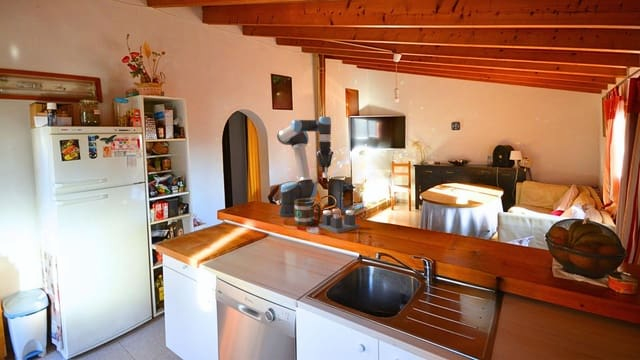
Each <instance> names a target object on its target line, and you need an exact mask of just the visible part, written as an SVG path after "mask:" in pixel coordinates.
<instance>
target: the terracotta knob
mask: <svg viewBox="0 0 640 360" xmlns="http://www.w3.org/2000/svg"><path fill="white" fill-rule="evenodd" d="M331 214H332V215H333V217H334V218H339V217H340V214H341V208H332V210H331Z"/></svg>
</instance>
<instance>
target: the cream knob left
mask: <svg viewBox="0 0 640 360" xmlns="http://www.w3.org/2000/svg"><path fill="white" fill-rule="evenodd" d="M345 215H349V216H351V215H355V211H354V210H351V209H347V210H345Z"/></svg>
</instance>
